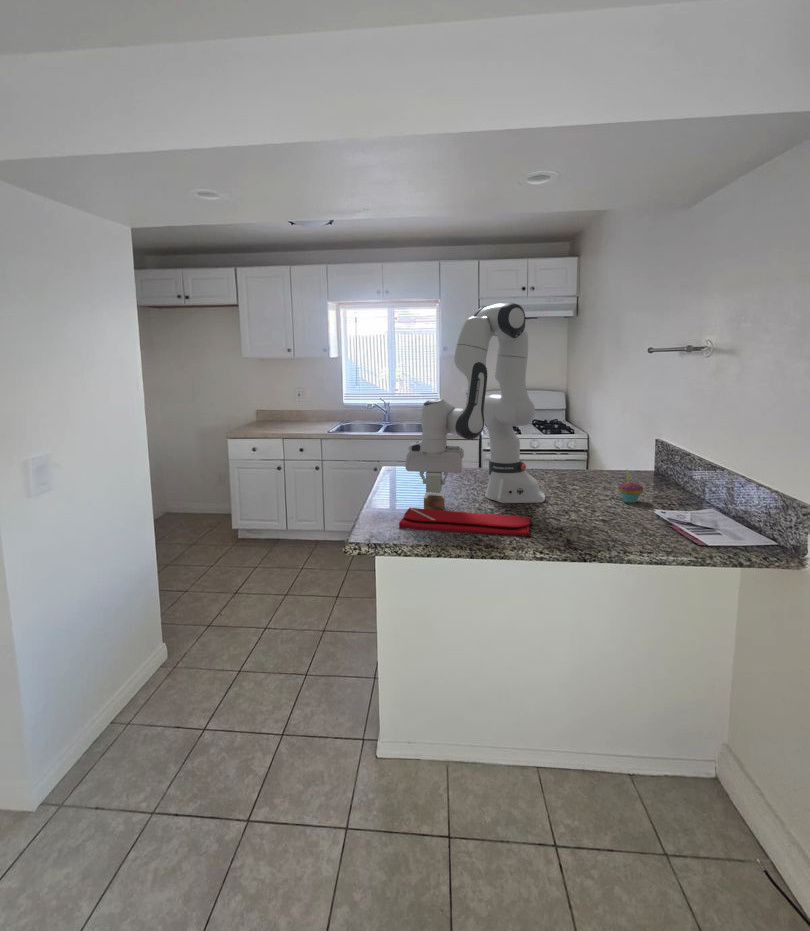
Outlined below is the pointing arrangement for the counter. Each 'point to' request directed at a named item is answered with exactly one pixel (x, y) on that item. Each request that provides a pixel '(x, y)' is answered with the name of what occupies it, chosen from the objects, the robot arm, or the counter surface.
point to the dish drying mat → (465, 522)
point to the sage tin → (433, 482)
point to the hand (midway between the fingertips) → (434, 484)
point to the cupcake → (630, 490)
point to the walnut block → (434, 501)
